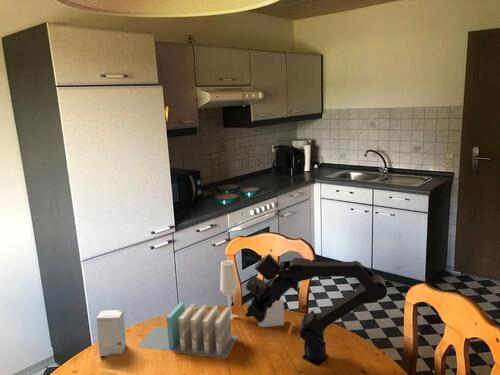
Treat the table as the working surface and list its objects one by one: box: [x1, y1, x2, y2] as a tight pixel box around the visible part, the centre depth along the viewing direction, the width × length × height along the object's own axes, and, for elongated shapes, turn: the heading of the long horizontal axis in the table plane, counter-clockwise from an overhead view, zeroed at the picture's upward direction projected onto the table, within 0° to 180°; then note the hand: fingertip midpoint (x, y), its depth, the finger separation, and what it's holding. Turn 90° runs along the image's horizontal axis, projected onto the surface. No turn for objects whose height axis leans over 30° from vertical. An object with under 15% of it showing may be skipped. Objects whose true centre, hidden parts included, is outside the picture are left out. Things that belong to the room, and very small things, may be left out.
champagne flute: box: [219, 259, 239, 320], centre depth 164 cm, size 7×7×24 cm
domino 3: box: [190, 304, 208, 352], centre depth 148 cm, size 2×11×12 cm, turn 164°
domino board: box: [136, 325, 239, 359], centre depth 151 cm, size 34×14×1 cm, turn 74°
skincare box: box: [96, 309, 127, 358], centre depth 146 cm, size 8×6×15 cm
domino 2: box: [178, 303, 197, 350], centre depth 149 cm, size 2×11×12 cm, turn 164°
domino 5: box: [215, 306, 233, 355], centre depth 145 cm, size 2×11×12 cm, turn 164°
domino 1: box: [165, 302, 186, 349], centre depth 150 cm, size 2×11×12 cm, turn 164°
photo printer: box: [257, 296, 285, 328], centre depth 159 cm, size 10×4×12 cm, turn 96°
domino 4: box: [202, 305, 220, 353], centre depth 147 cm, size 2×11×12 cm, turn 164°
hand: (246, 315), depth 142 cm, fingers closed
